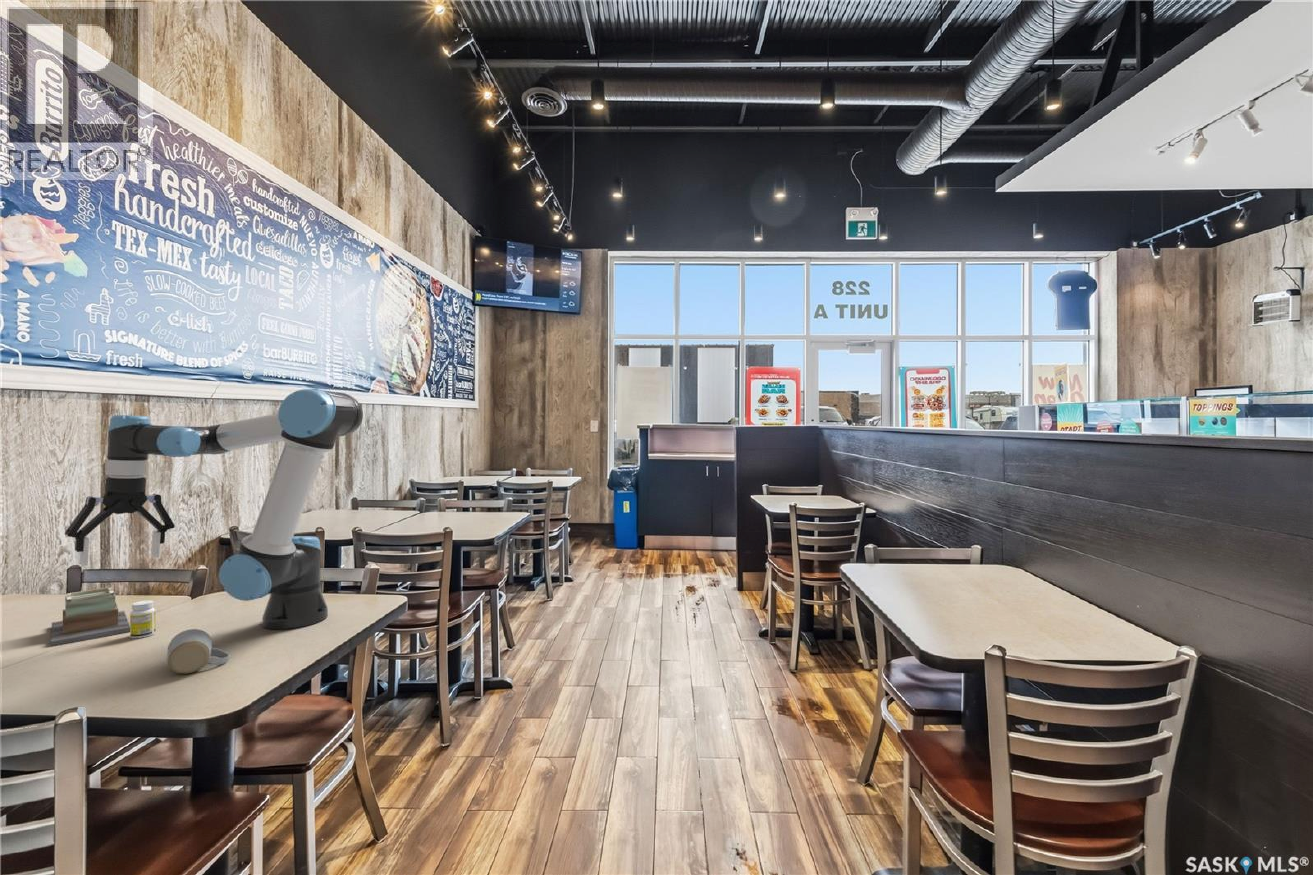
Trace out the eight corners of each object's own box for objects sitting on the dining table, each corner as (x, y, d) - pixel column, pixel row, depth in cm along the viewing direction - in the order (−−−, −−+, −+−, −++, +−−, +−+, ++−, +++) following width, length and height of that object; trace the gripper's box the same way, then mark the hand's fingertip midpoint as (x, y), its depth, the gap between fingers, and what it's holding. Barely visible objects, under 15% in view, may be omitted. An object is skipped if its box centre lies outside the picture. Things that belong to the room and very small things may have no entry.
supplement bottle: (140, 632, 146) (140, 600, 146) (160, 632, 147) (160, 599, 147) (125, 639, 142) (124, 605, 142) (145, 638, 142) (145, 605, 142)
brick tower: (130, 631, 147) (130, 595, 147) (51, 646, 137) (50, 607, 137) (124, 615, 161) (123, 581, 161) (51, 627, 151) (51, 591, 150)
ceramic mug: (166, 680, 118) (167, 642, 118) (167, 667, 124) (168, 632, 124) (230, 667, 125) (230, 632, 125) (228, 656, 131) (228, 622, 131)
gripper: (181, 473, 156) (176, 551, 156) (51, 476, 134) (45, 565, 135) (193, 476, 152) (187, 555, 152) (60, 479, 130) (54, 571, 131)
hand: (120, 560), depth 143 cm, fingers open, 13 cm apart
